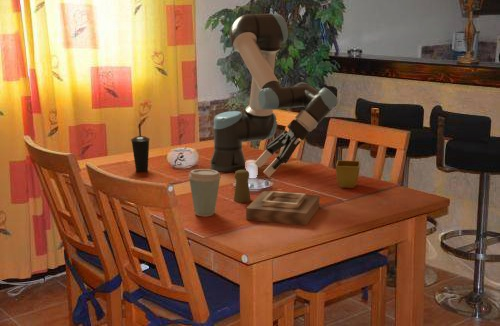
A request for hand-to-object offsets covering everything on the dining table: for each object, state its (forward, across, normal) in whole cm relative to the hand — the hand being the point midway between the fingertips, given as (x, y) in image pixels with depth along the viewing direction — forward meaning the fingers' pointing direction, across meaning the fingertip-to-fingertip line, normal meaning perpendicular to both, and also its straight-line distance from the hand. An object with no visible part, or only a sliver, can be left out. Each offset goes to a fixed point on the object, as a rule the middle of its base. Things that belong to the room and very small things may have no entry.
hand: (261, 169), depth 239 cm
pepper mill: (+13, +1, -3) cm, 13 cm away
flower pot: (-17, +9, -33) cm, 39 cm away
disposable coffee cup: (+23, -11, +8) cm, 27 cm away
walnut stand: (+5, -16, -10) cm, 20 cm away
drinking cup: (+35, +51, +20) cm, 65 cm away
